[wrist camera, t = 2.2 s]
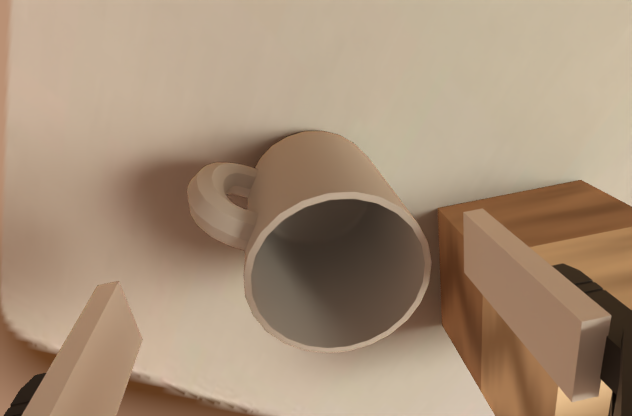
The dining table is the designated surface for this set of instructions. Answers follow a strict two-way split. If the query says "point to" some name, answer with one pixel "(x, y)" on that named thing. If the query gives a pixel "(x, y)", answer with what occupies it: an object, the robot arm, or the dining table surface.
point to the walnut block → (531, 228)
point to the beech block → (516, 360)
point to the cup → (317, 241)
